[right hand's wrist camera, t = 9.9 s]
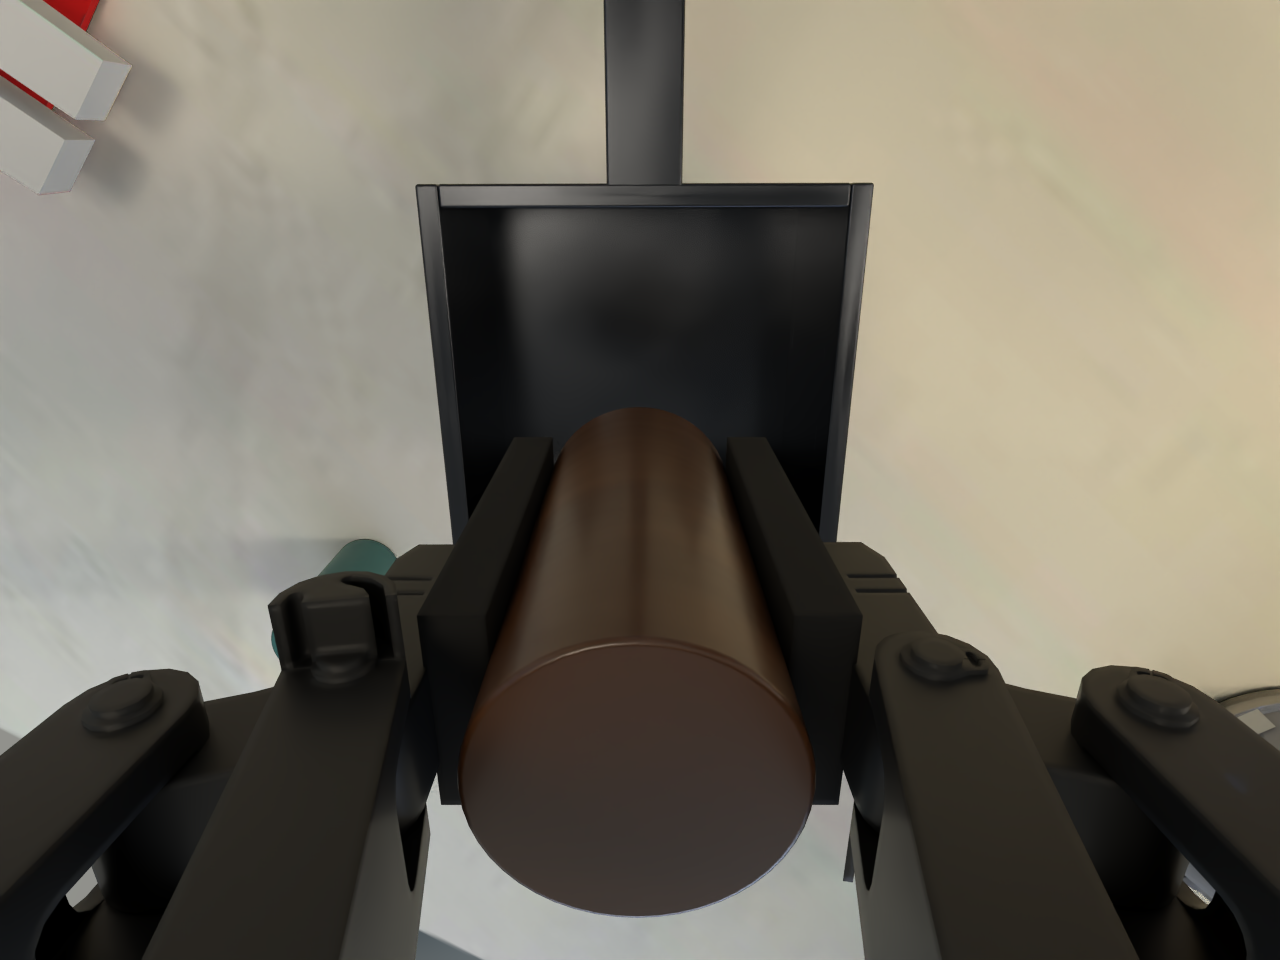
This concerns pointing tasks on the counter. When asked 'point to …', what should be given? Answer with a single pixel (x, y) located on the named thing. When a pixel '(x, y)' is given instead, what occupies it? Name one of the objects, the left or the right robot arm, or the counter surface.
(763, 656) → the walnut peg
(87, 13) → the toy
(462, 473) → the black box with handle
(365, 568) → the teal peg
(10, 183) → the counter surface
